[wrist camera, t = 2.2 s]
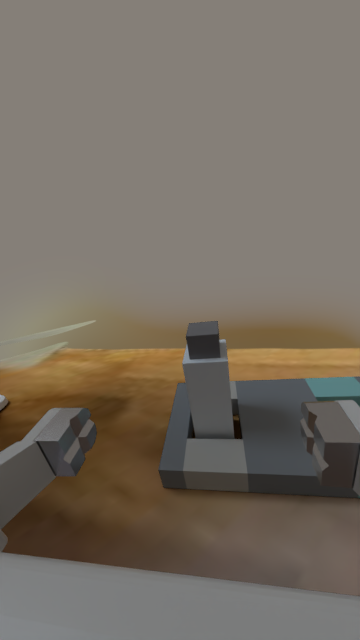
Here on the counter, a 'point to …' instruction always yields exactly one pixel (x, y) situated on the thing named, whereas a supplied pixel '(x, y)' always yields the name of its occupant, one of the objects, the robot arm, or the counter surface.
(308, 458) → the panel
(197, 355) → the plug
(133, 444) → the counter surface
